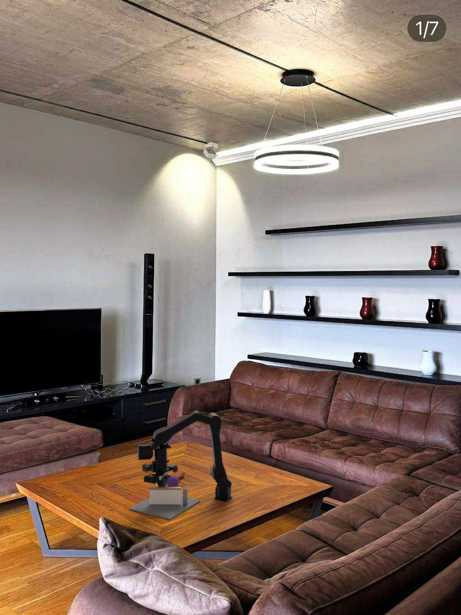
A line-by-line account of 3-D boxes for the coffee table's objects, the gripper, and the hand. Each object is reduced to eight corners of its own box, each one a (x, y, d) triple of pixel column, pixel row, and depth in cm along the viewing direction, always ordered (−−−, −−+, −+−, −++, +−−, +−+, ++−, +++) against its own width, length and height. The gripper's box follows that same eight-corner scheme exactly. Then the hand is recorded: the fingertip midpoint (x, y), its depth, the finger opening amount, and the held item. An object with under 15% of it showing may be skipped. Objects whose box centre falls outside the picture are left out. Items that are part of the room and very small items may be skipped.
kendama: (188, 469, 305) (178, 479, 285) (186, 480, 305) (175, 491, 285) (177, 466, 306) (166, 475, 286) (175, 477, 306) (164, 487, 286)
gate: (181, 503, 266) (181, 486, 266) (181, 504, 264) (181, 488, 264) (149, 503, 266) (150, 486, 265) (149, 504, 264) (149, 488, 264)
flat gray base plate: (200, 501, 271) (200, 484, 270) (170, 520, 250) (170, 501, 249) (160, 492, 281) (161, 475, 281) (128, 509, 260) (128, 491, 260)
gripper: (158, 449, 279) (159, 482, 280) (133, 461, 263) (134, 495, 264) (178, 453, 273) (178, 486, 274) (153, 465, 257) (154, 500, 258)
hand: (161, 492), depth 268 cm, fingers closed
